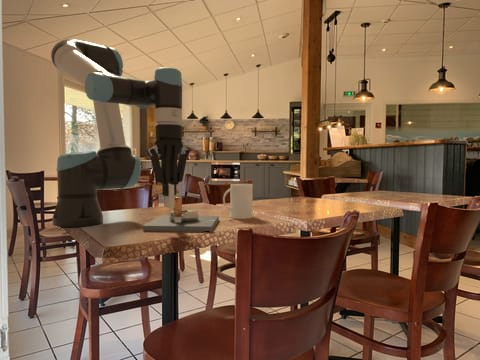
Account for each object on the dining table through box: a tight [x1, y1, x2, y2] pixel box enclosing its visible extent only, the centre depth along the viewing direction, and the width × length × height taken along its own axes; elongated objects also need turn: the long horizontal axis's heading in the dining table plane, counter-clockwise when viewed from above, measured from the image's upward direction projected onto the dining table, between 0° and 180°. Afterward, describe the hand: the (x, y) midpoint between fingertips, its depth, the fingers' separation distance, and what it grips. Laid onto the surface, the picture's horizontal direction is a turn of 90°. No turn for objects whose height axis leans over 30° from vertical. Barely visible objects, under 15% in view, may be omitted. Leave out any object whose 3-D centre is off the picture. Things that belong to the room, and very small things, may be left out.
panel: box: [142, 214, 220, 233], centre depth 117 cm, size 20×20×2 cm
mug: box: [222, 183, 254, 220], centre depth 133 cm, size 12×8×12 cm
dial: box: [169, 196, 199, 223], centre depth 114 cm, size 15×9×8 cm, turn 177°
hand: (169, 207), depth 105 cm, fingers closed
